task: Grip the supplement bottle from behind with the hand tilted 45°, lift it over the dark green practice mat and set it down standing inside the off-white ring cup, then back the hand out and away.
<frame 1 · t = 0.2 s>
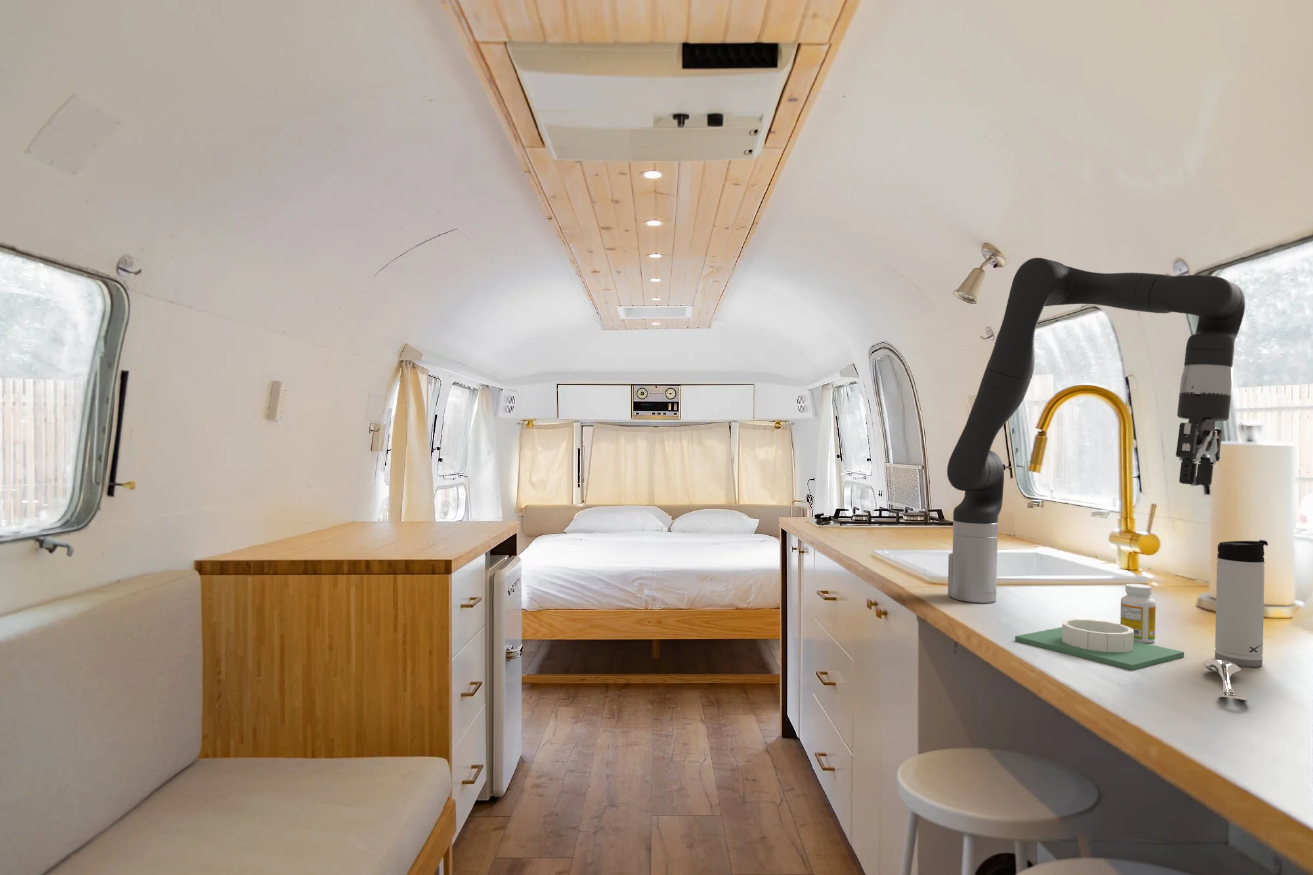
hand: (1195, 484, 139), 28 cm above the table, tool pointing down, fingers open, 8 cm apart
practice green: (1096, 648, 136), on the table
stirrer: (1227, 693, 115), on the table
travel mug: (1239, 663, 129), on the table
supplement bottle: (1137, 640, 143), on the table
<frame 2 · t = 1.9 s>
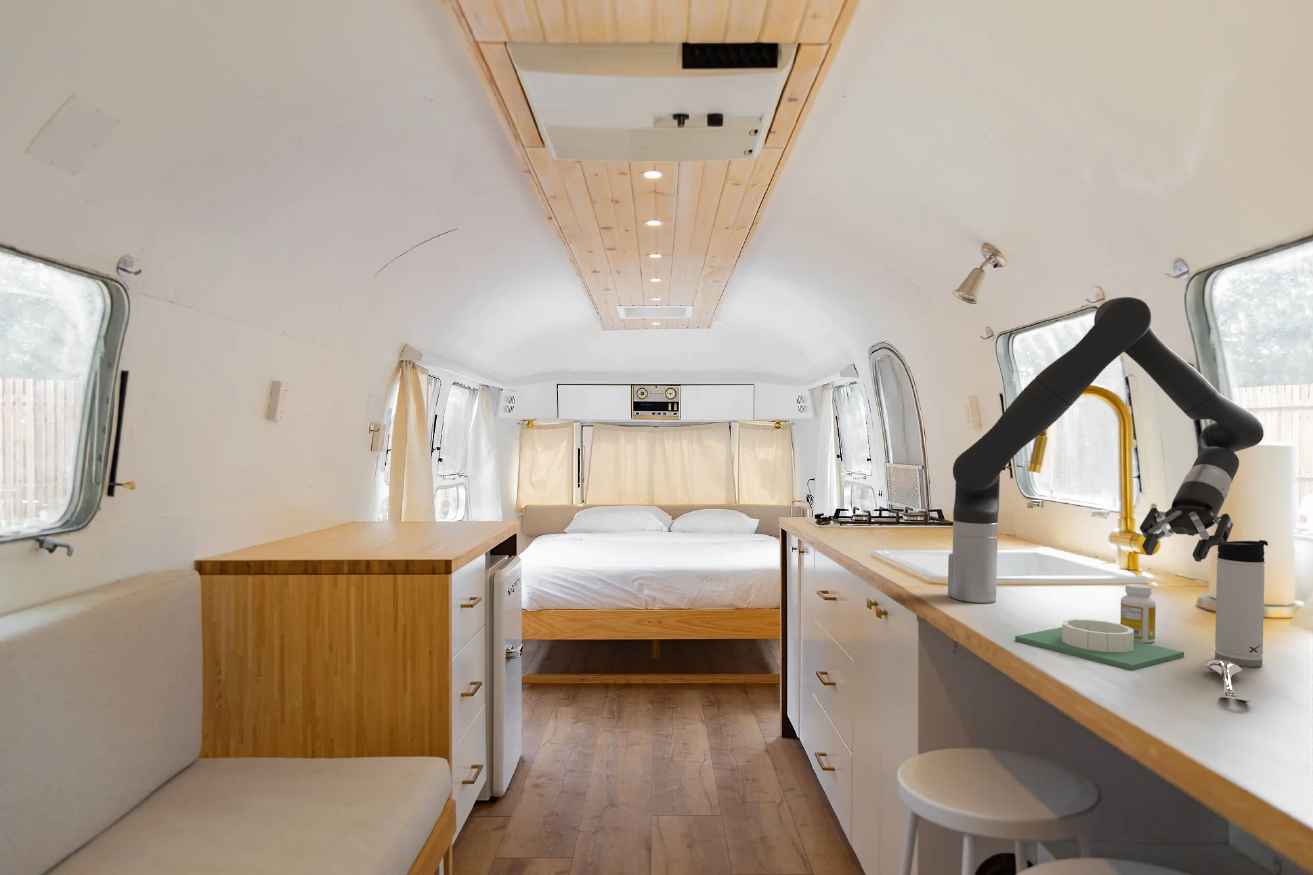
hand: (1171, 555, 149), 14 cm above the table, tool tilted 45°, fingers open, 8 cm apart
nothing on the table moved.
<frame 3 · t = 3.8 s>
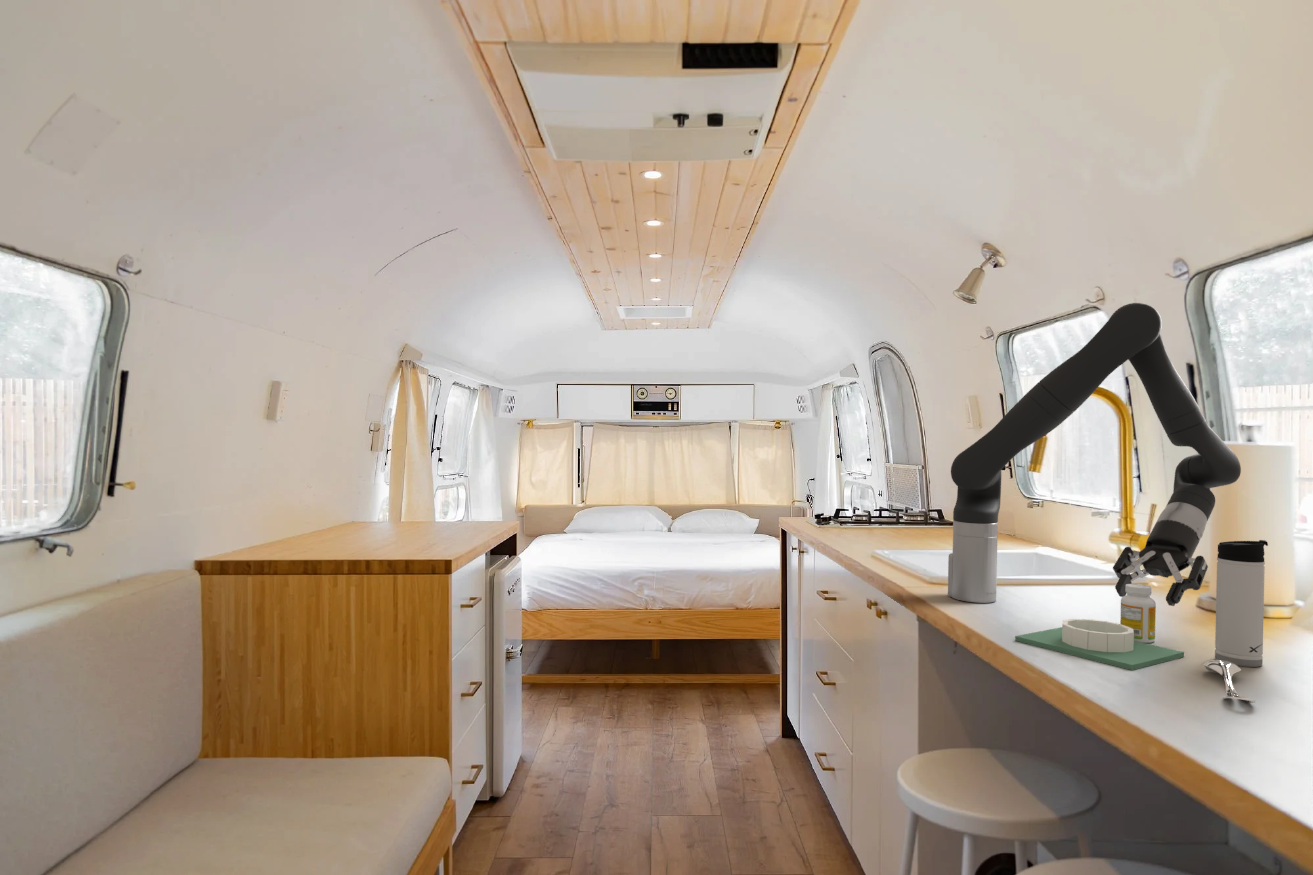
hand: (1144, 598, 144), 7 cm above the table, tool tilted 45°, fingers open, 8 cm apart
nothing on the table moved.
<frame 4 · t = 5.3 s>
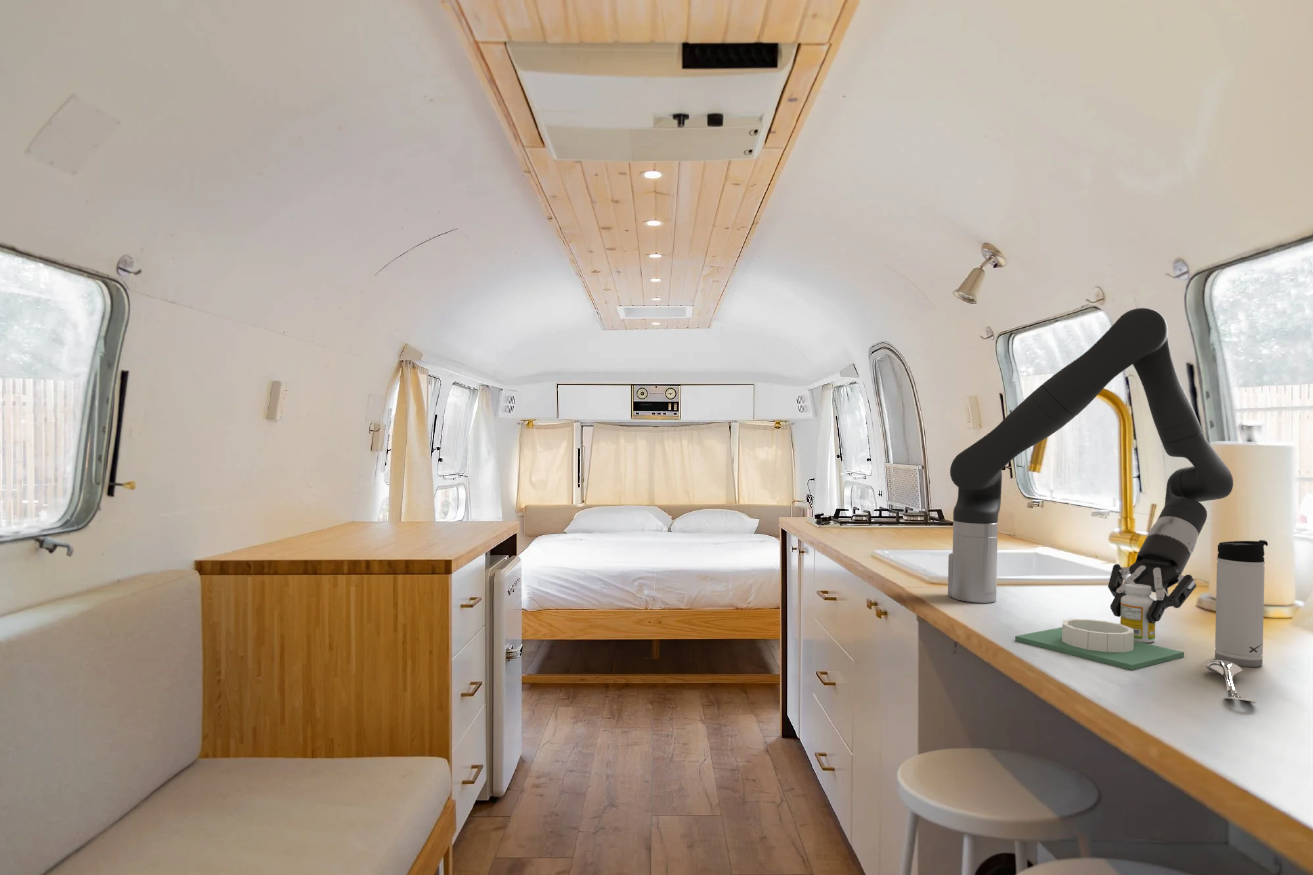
hand: (1132, 616, 142), 4 cm above the table, tool tilted 45°, fingers closed on supplement bottle, 5 cm apart
supplement bottle: (1137, 640, 143), on the table, touching gripper
everything else where it was.
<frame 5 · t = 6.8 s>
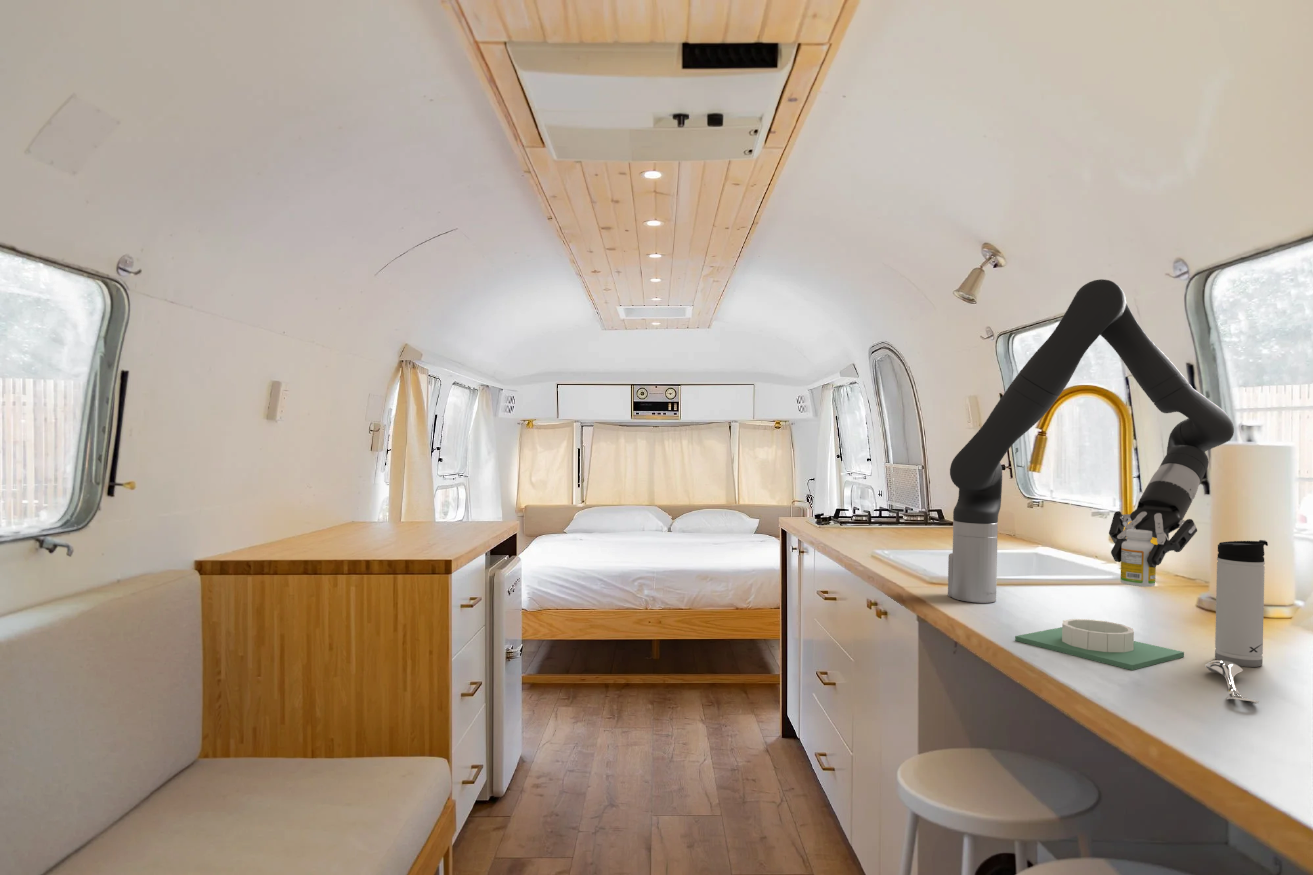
hand: (1133, 561, 142), 14 cm above the table, tool tilted 45°, fingers closed on supplement bottle, 5 cm apart
supplement bottle: (1137, 585, 143), point 10 cm above the table, touching gripper
everything else where it was.
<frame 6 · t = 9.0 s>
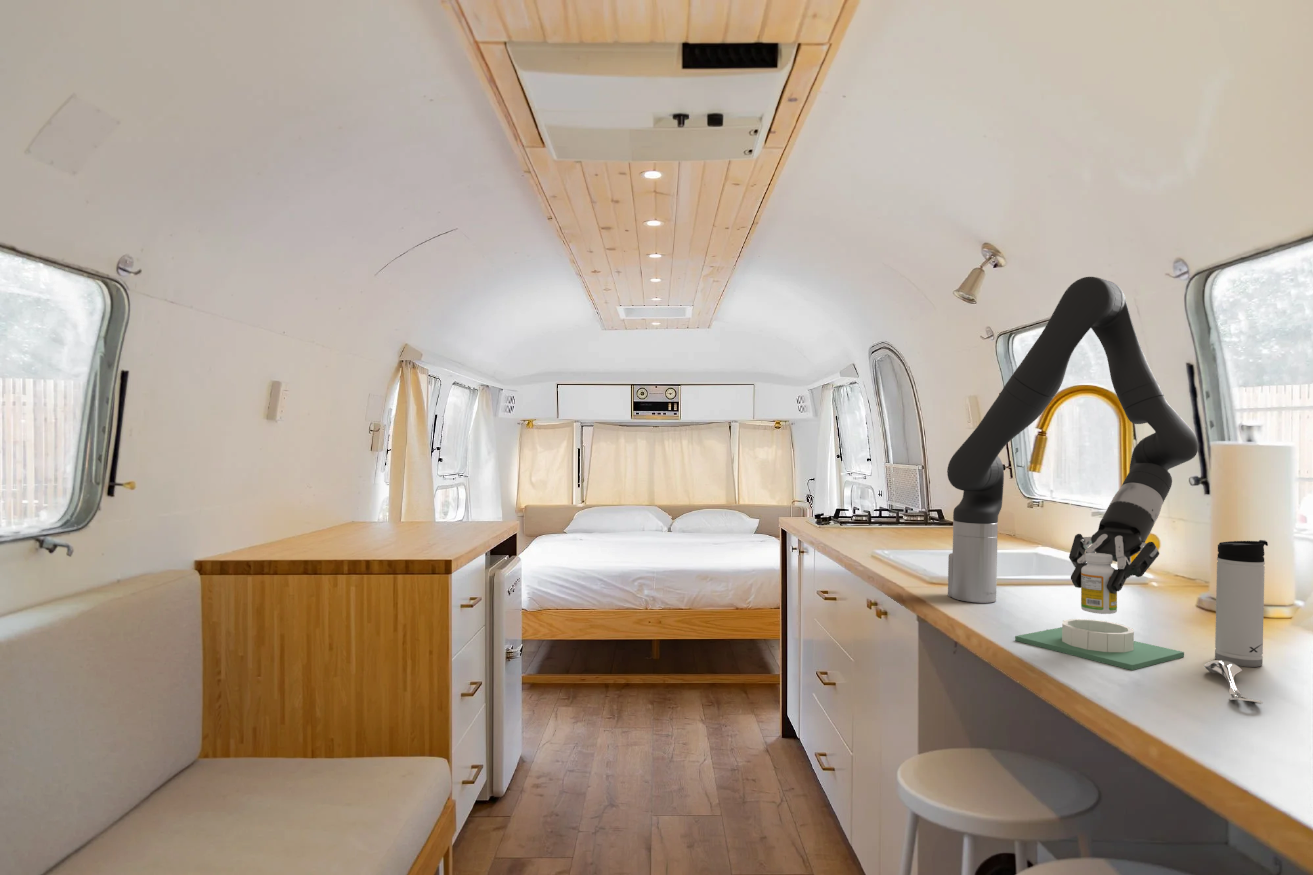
hand: (1093, 587, 135), 11 cm above the table, tool tilted 45°, fingers closed on supplement bottle, 5 cm apart
supplement bottle: (1098, 612, 136), point 6 cm above the table, touching gripper
everything else where it was.
when the fingers open (6 cm above the table, at t = 10.2 s): supplement bottle drops 1 cm, resting on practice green.
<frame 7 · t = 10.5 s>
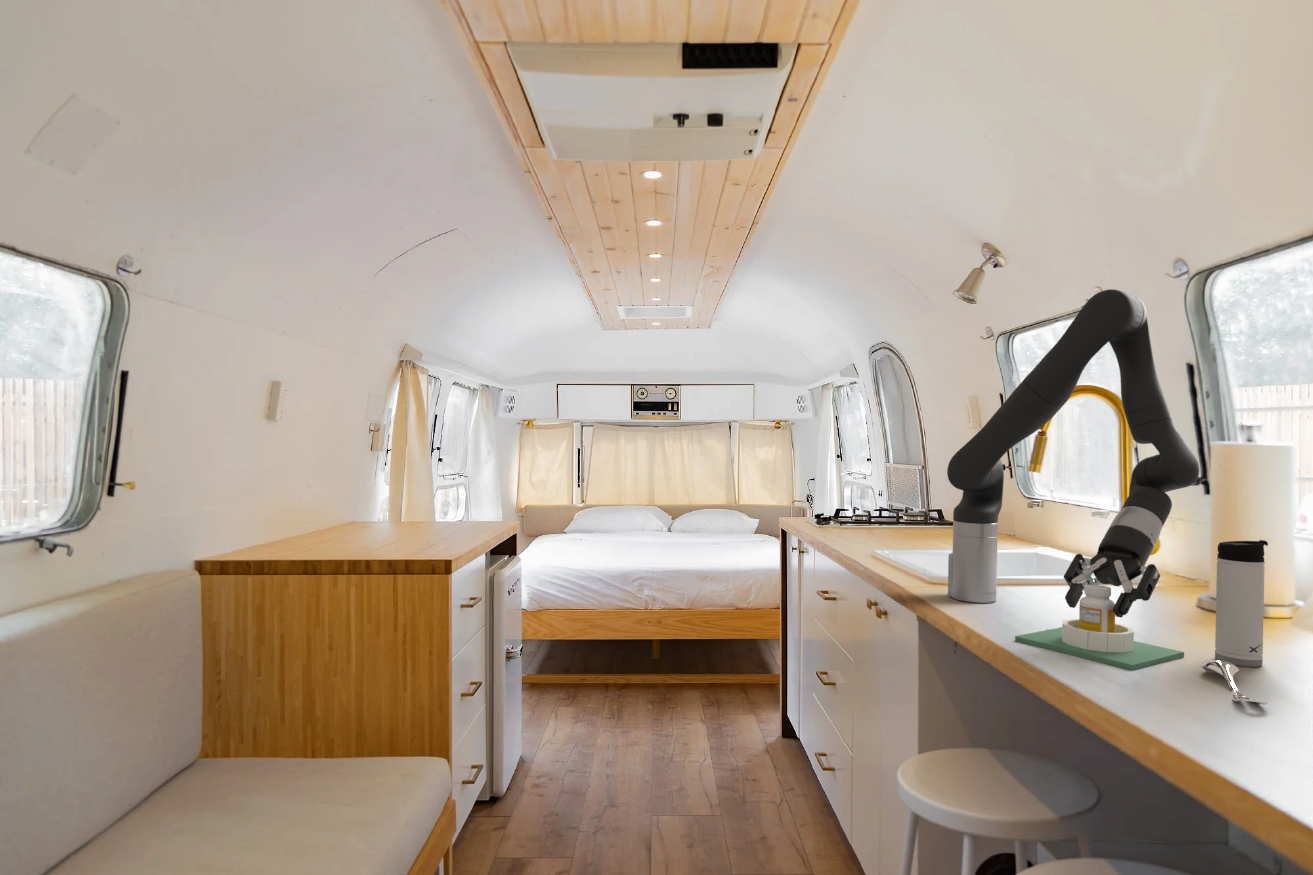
hand: (1092, 609, 135), 7 cm above the table, tool tilted 45°, fingers open, 7 cm apart
supplement bottle: (1096, 644, 136), point 1 cm above the table, touching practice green
everything else where it was.
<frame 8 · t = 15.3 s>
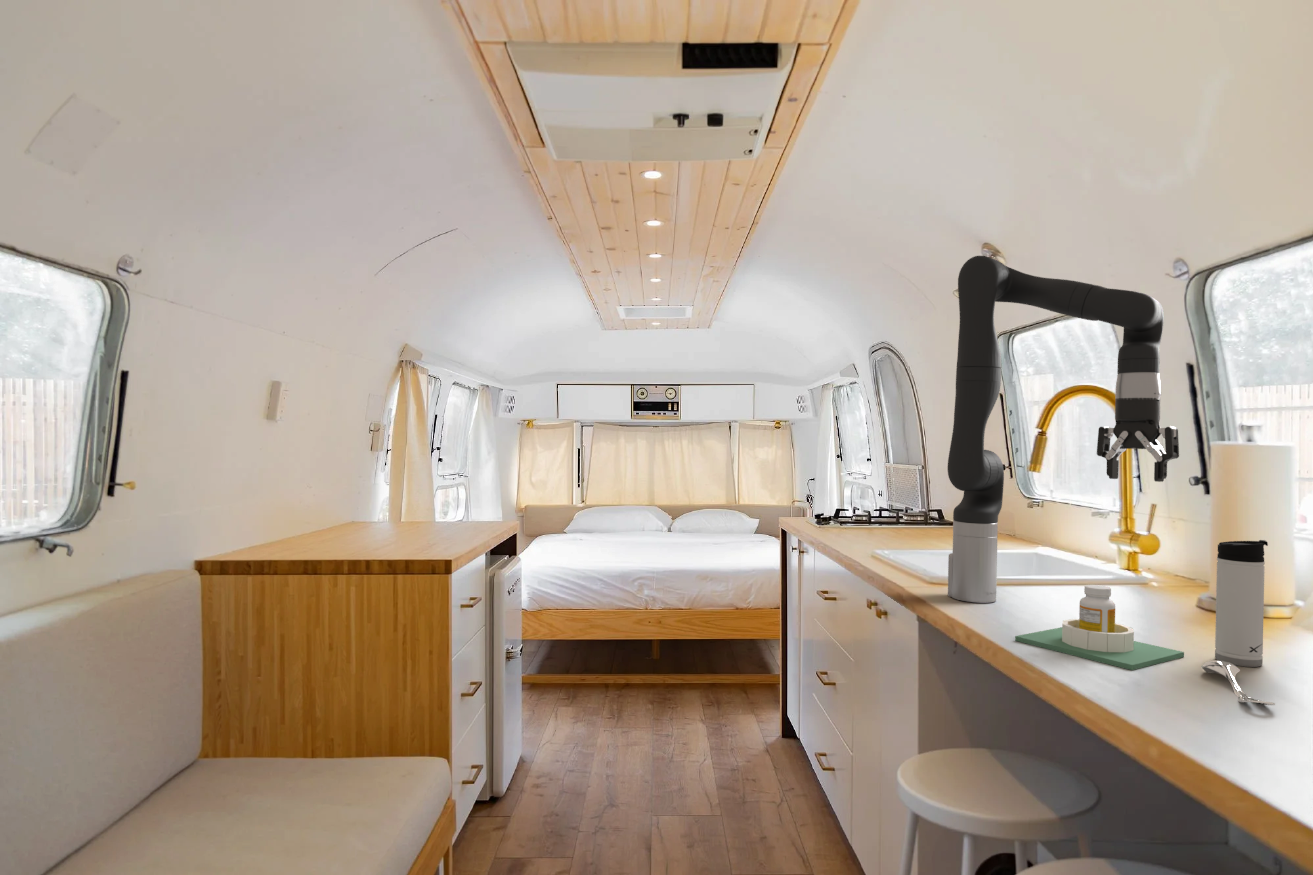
hand: (1135, 480, 155), 28 cm above the table, tool pointing down, fingers open, 8 cm apart
at the end: supplement bottle 0.3 cm off-centre on the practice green, point 0.6 cm above the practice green's base; supplement bottle tilted 0°; the gripper is holding nothing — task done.
